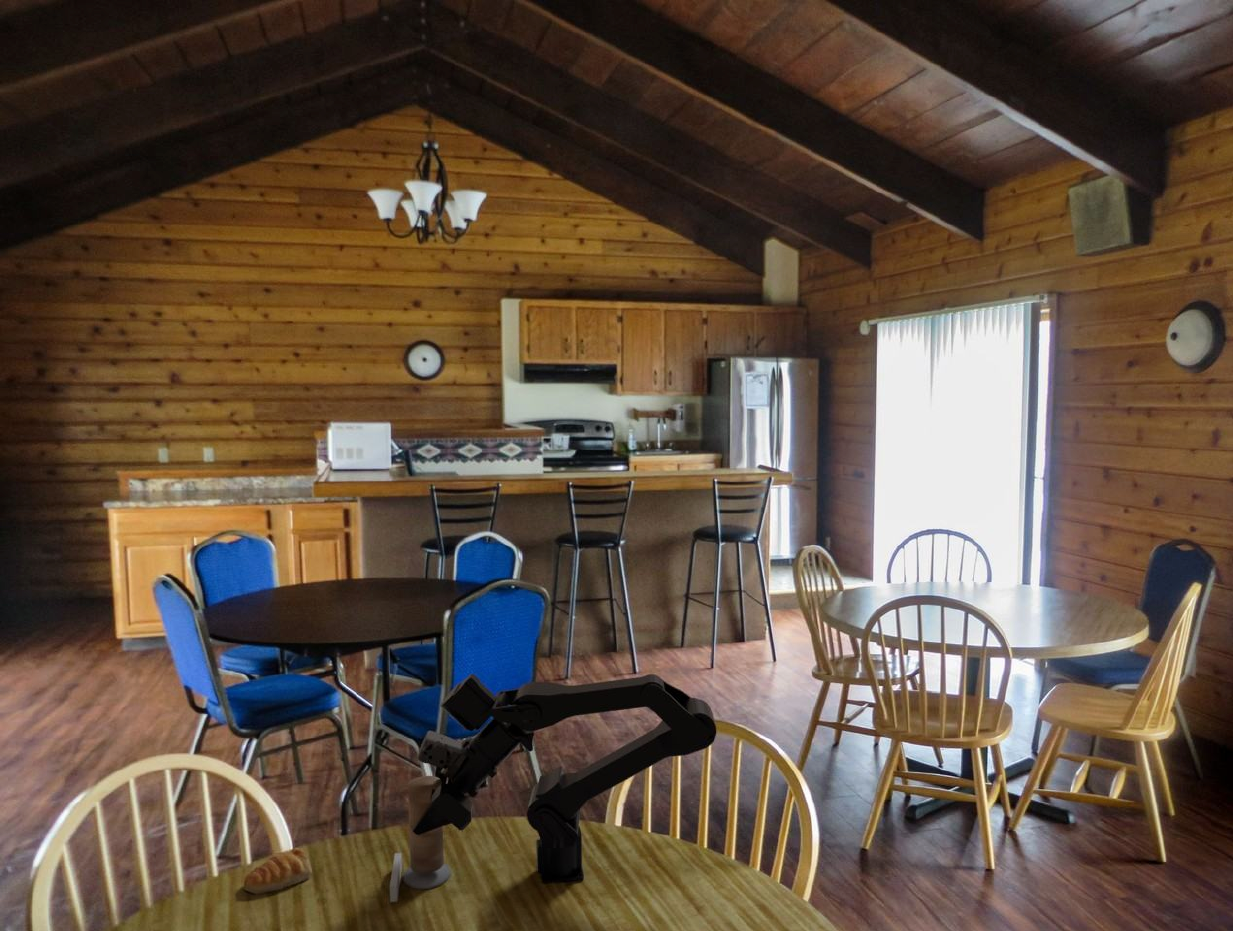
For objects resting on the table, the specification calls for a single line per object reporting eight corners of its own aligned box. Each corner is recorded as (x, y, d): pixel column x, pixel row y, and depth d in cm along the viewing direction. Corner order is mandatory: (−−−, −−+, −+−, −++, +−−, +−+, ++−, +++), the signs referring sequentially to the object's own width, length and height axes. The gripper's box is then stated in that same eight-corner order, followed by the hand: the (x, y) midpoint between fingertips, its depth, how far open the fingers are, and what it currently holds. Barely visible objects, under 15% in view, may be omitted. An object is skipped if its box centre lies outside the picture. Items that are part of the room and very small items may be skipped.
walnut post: (444, 854, 138) (442, 774, 137) (443, 871, 133) (440, 789, 132) (411, 857, 138) (409, 777, 136) (409, 874, 133) (406, 791, 131)
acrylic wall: (401, 867, 138) (401, 852, 138) (397, 901, 129) (396, 884, 129) (395, 868, 138) (394, 853, 138) (390, 901, 129) (389, 885, 129)
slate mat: (450, 861, 140) (450, 858, 140) (449, 886, 133) (449, 883, 133) (405, 865, 139) (405, 862, 139) (402, 891, 132) (401, 887, 132)
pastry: (255, 903, 129) (254, 879, 129) (236, 885, 134) (235, 861, 133) (315, 878, 136) (314, 854, 135) (295, 861, 140) (294, 838, 140)
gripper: (452, 694, 143) (385, 764, 143) (445, 741, 125) (367, 821, 124) (502, 738, 145) (436, 807, 144) (502, 790, 126) (426, 869, 126)
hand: (416, 824), depth 135 cm, fingers closed on walnut post, 5 cm apart
